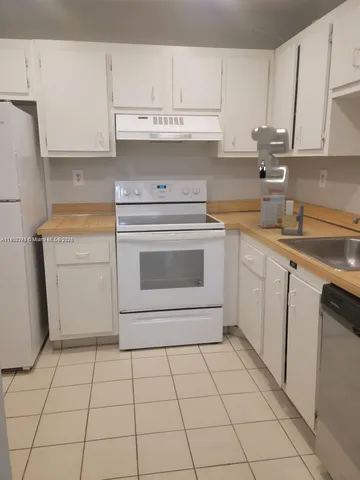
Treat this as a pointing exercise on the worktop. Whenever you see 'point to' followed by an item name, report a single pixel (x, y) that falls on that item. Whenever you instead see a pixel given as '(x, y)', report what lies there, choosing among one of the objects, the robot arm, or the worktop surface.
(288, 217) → the cup bracket
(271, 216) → the cracker box
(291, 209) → the rail post
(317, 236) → the worktop surface
